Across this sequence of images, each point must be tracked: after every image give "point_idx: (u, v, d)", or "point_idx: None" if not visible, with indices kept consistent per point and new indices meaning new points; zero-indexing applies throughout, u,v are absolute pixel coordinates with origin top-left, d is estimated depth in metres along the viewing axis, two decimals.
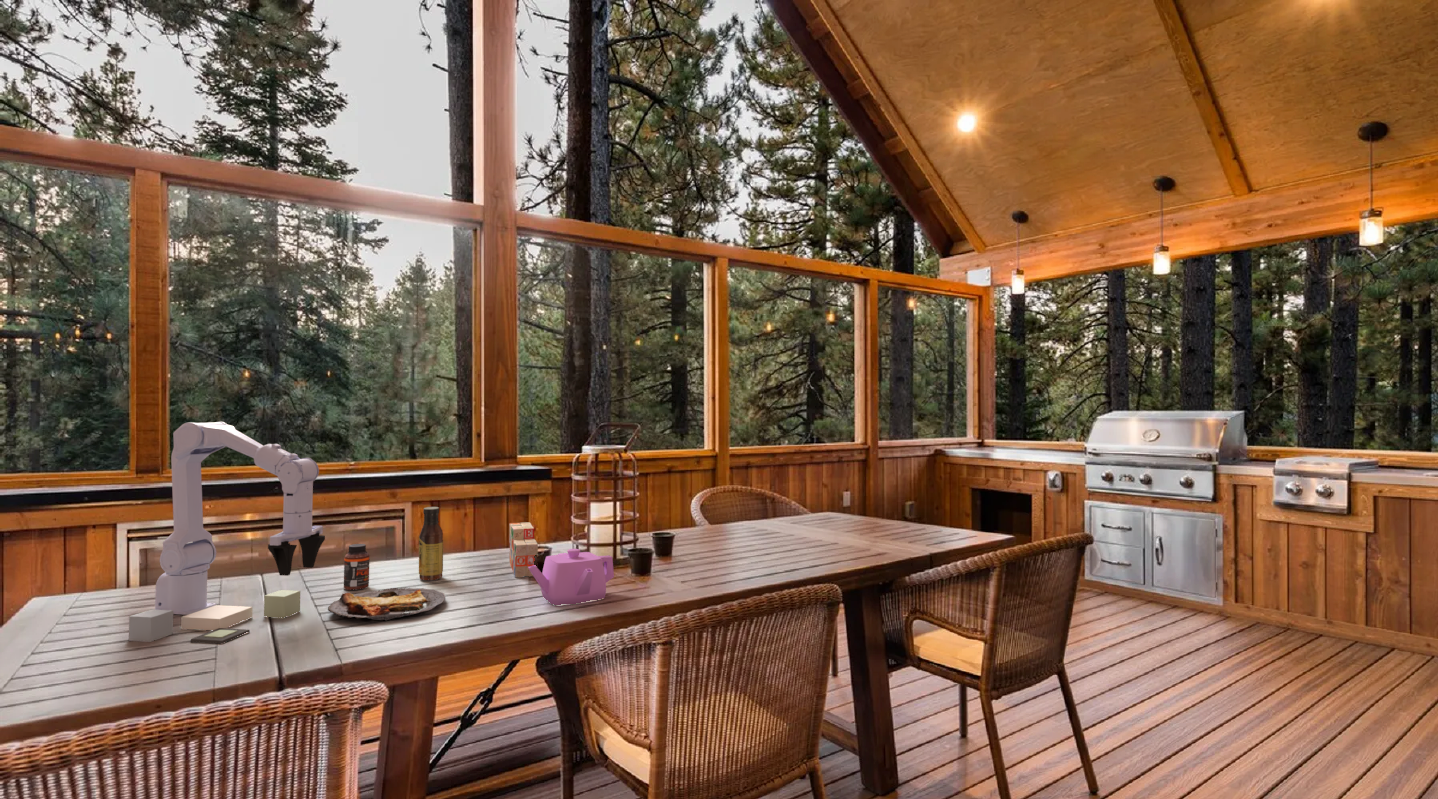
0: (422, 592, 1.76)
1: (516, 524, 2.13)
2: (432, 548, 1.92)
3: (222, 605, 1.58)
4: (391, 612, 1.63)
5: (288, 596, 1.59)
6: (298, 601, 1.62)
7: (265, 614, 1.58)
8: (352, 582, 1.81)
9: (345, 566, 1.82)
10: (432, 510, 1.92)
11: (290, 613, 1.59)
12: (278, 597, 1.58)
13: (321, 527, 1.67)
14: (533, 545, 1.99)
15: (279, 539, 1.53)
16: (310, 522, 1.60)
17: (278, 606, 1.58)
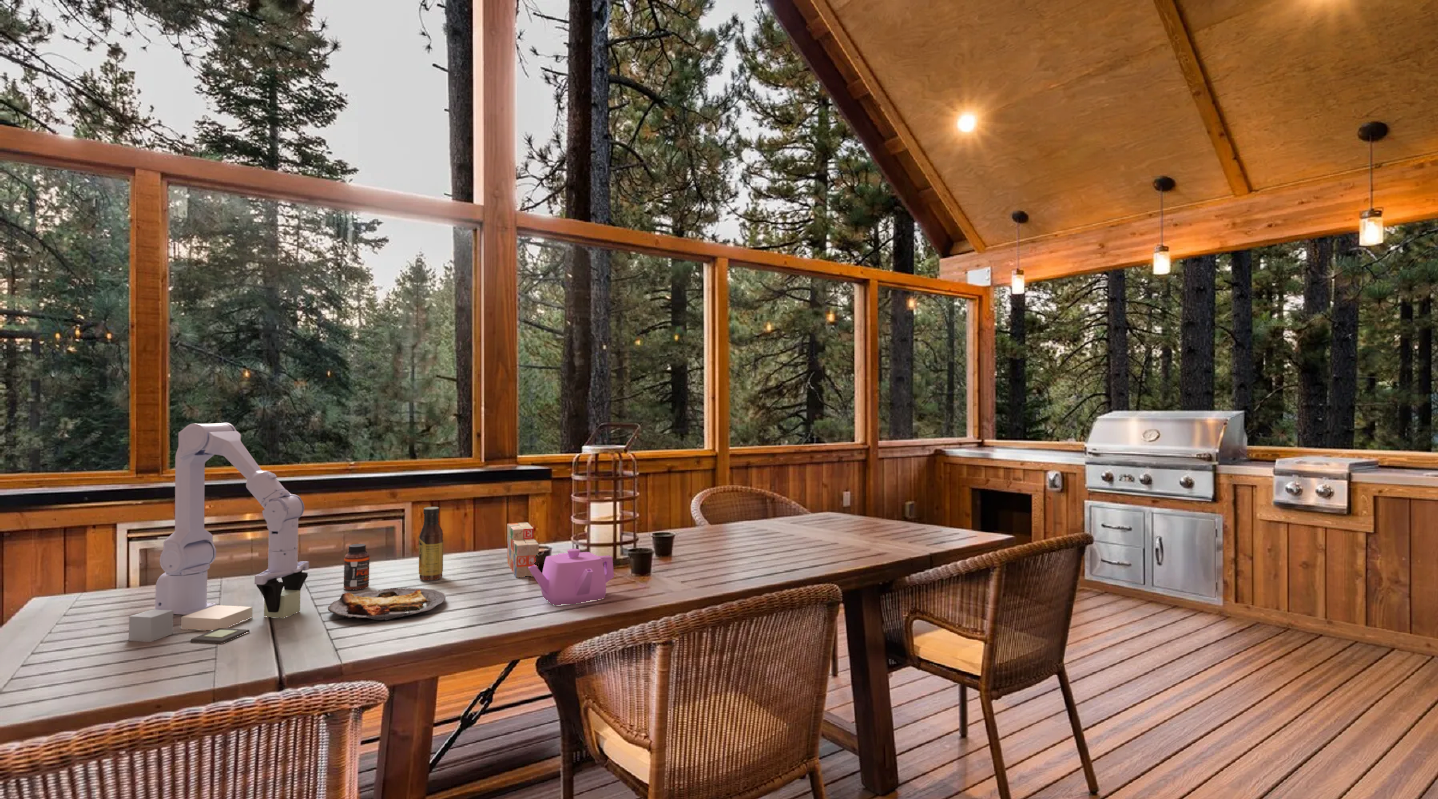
0: (422, 592, 1.76)
1: (514, 524, 2.13)
2: (432, 548, 1.92)
3: (222, 605, 1.58)
4: (391, 612, 1.63)
5: (288, 596, 1.59)
6: (298, 600, 1.62)
7: (265, 614, 1.58)
8: (352, 582, 1.81)
9: (345, 566, 1.82)
10: (432, 510, 1.92)
11: (290, 612, 1.60)
12: None
13: (307, 563, 1.67)
14: (534, 545, 1.99)
15: (264, 578, 1.54)
16: (295, 559, 1.61)
17: None
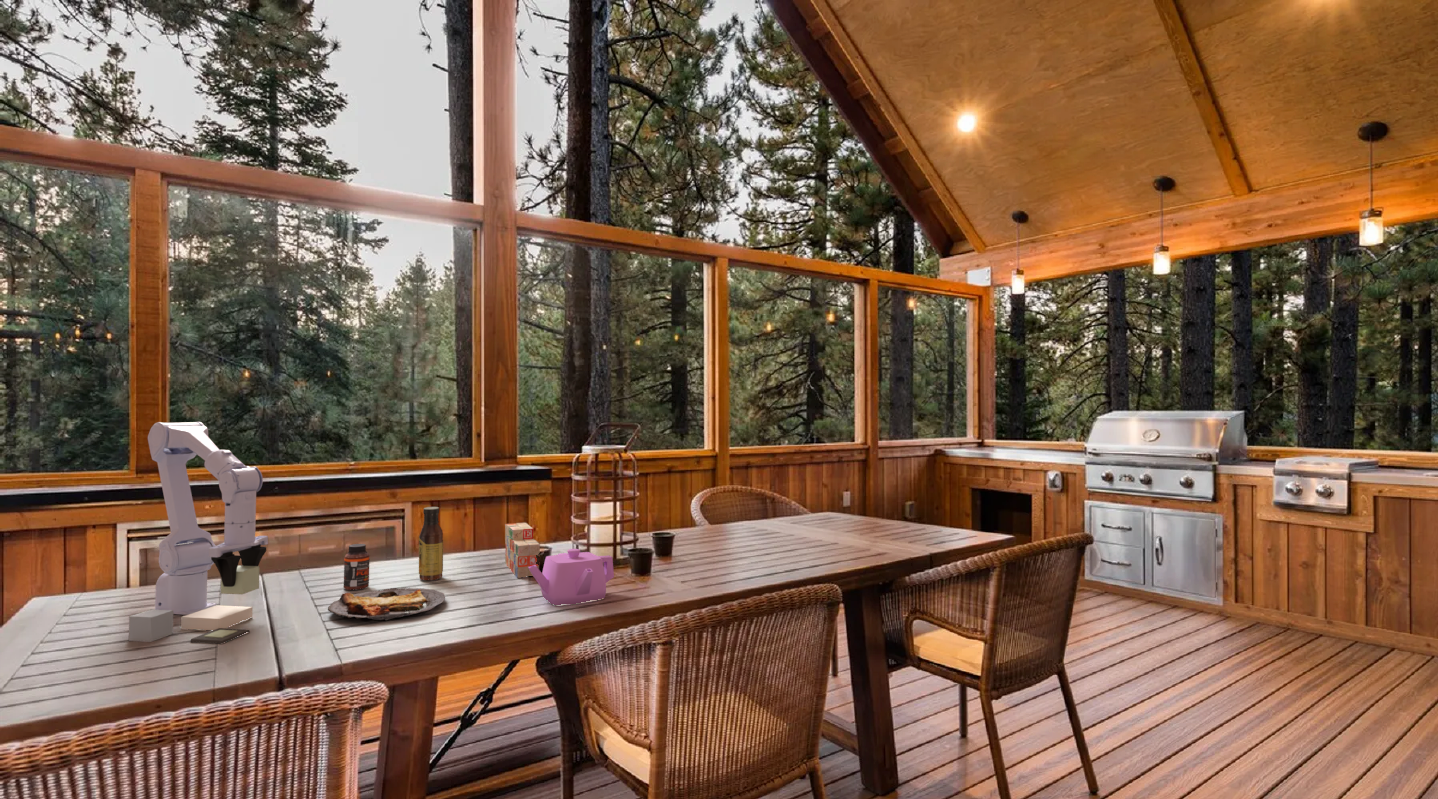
0: (422, 592, 1.76)
1: (513, 525, 2.12)
2: (432, 548, 1.92)
3: (221, 605, 1.58)
4: (391, 612, 1.63)
5: (246, 571, 1.54)
6: (257, 577, 1.58)
7: (222, 590, 1.53)
8: (352, 582, 1.81)
9: (345, 566, 1.82)
10: (432, 510, 1.92)
11: (248, 589, 1.55)
12: (236, 572, 1.53)
13: (266, 537, 1.62)
14: (535, 545, 1.98)
15: (218, 551, 1.49)
16: (253, 533, 1.56)
17: (235, 582, 1.53)
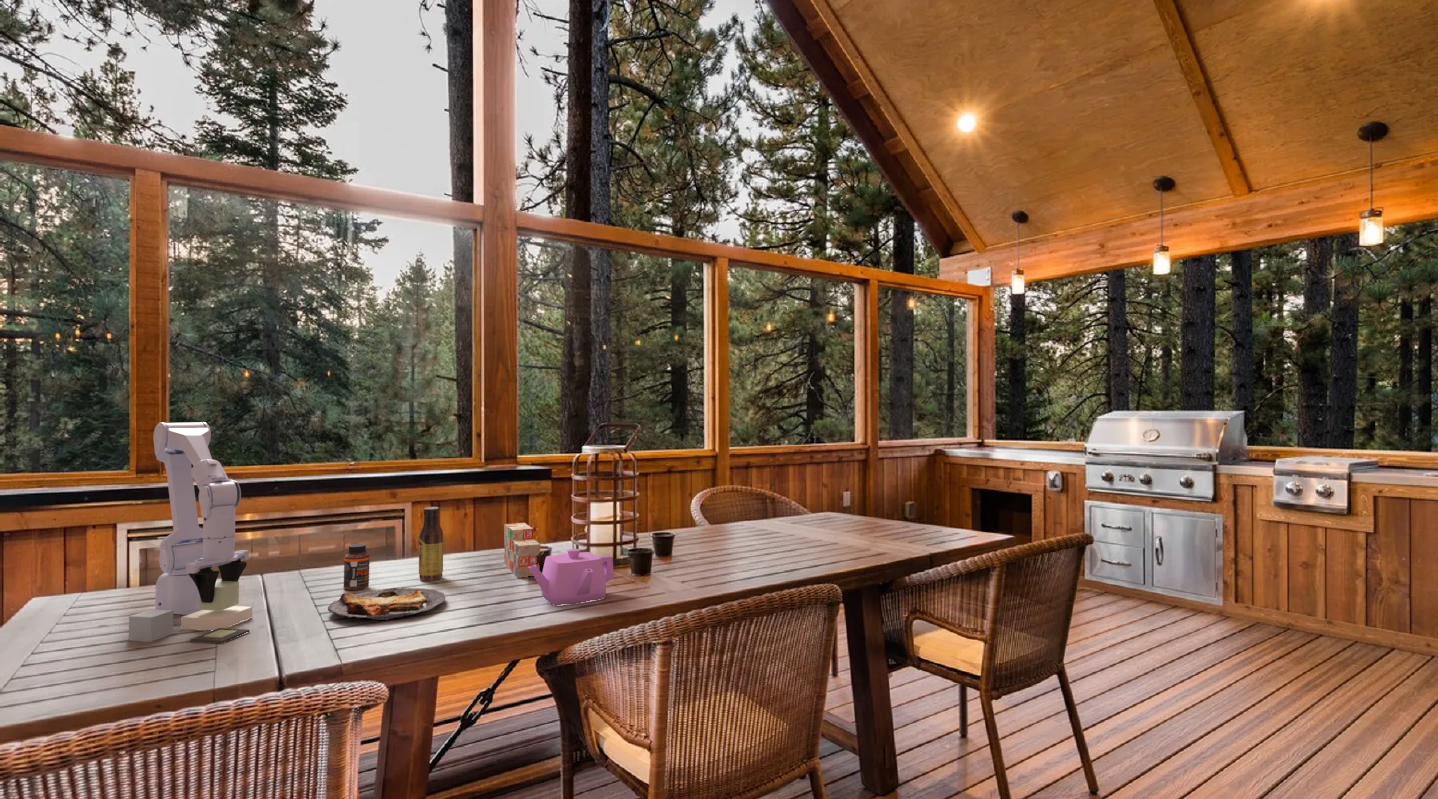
0: (422, 592, 1.76)
1: (512, 525, 2.12)
2: (432, 548, 1.92)
3: None
4: (391, 612, 1.63)
5: (225, 587, 1.52)
6: (236, 592, 1.55)
7: (200, 606, 1.51)
8: (352, 582, 1.81)
9: (345, 566, 1.82)
10: (432, 510, 1.92)
11: (227, 605, 1.53)
12: None
13: (246, 552, 1.60)
14: (536, 545, 1.98)
15: (196, 567, 1.47)
16: (232, 548, 1.54)
17: (214, 598, 1.51)
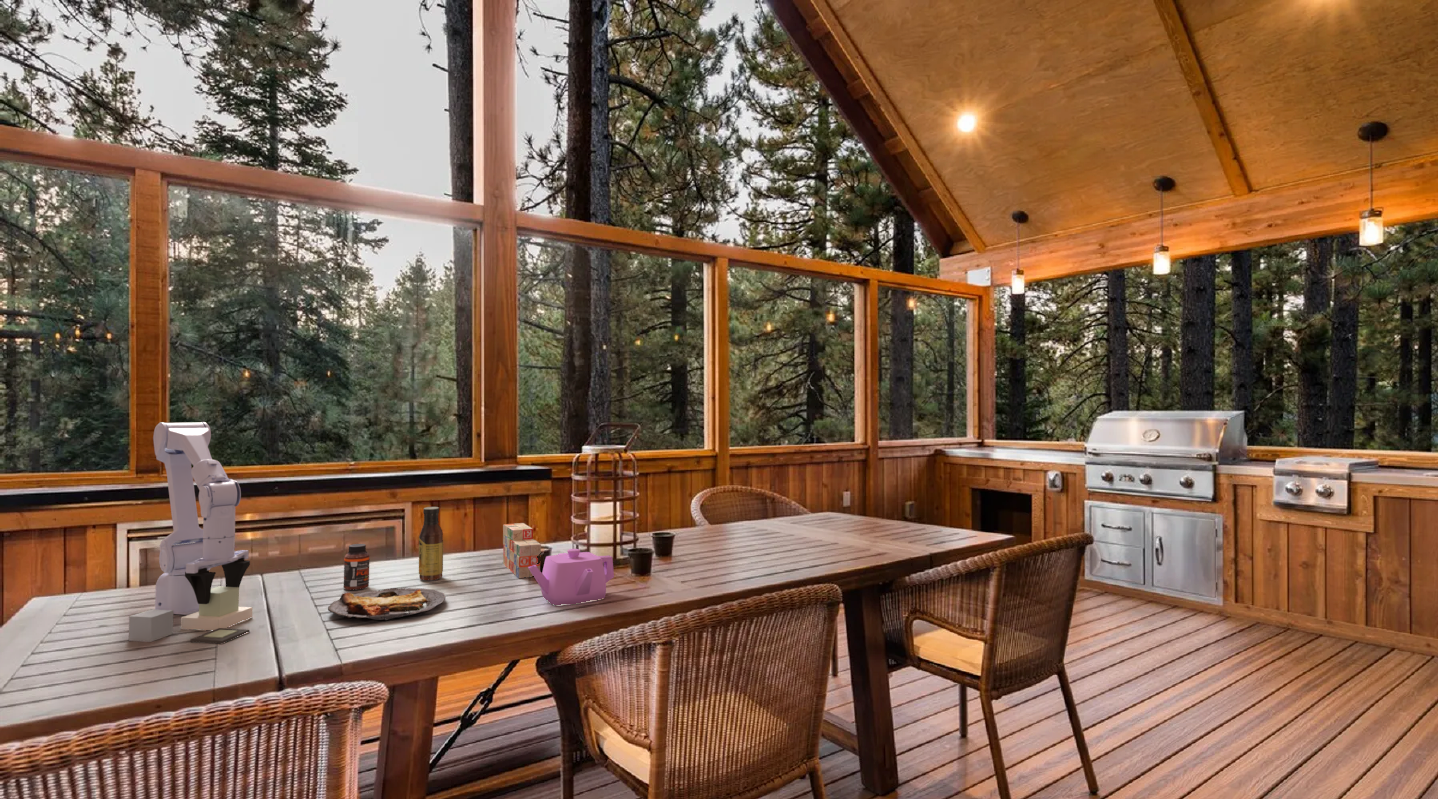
0: (422, 592, 1.76)
1: (511, 525, 2.12)
2: (432, 548, 1.92)
3: None
4: (391, 612, 1.63)
5: (224, 593, 1.52)
6: (236, 598, 1.55)
7: (200, 611, 1.51)
8: (352, 582, 1.81)
9: (345, 566, 1.82)
10: (432, 510, 1.92)
11: (226, 611, 1.52)
12: (213, 594, 1.51)
13: (246, 552, 1.60)
14: (536, 545, 1.98)
15: (196, 567, 1.47)
16: (232, 547, 1.54)
17: (213, 603, 1.51)
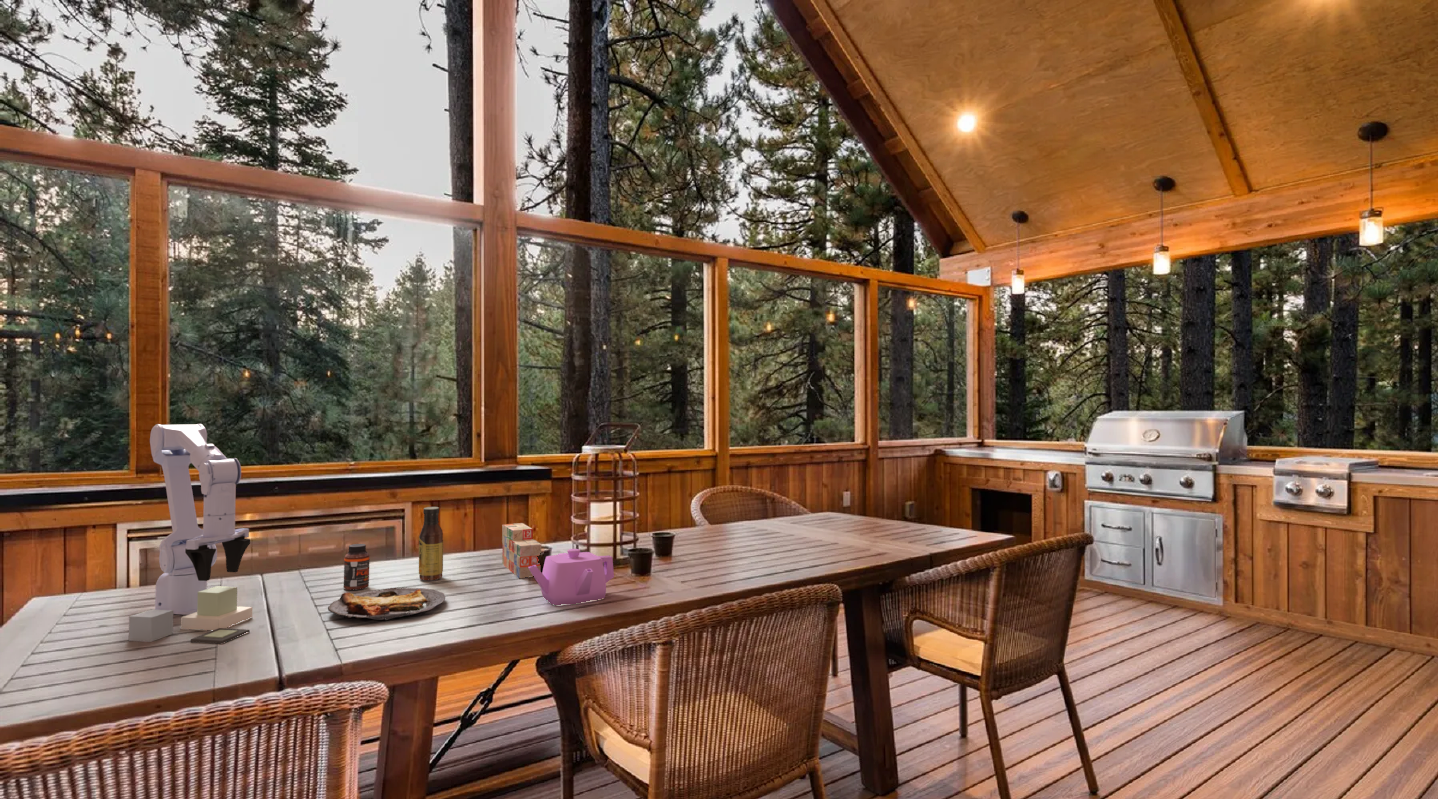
0: (422, 592, 1.76)
1: (511, 525, 2.11)
2: (432, 548, 1.92)
3: None
4: (391, 612, 1.63)
5: (222, 592, 1.52)
6: (235, 598, 1.55)
7: (198, 611, 1.51)
8: (352, 582, 1.81)
9: (345, 566, 1.82)
10: (432, 510, 1.92)
11: (225, 610, 1.52)
12: (212, 593, 1.51)
13: (247, 530, 1.60)
14: (537, 545, 1.98)
15: (196, 543, 1.47)
16: (232, 525, 1.54)
17: (211, 603, 1.51)
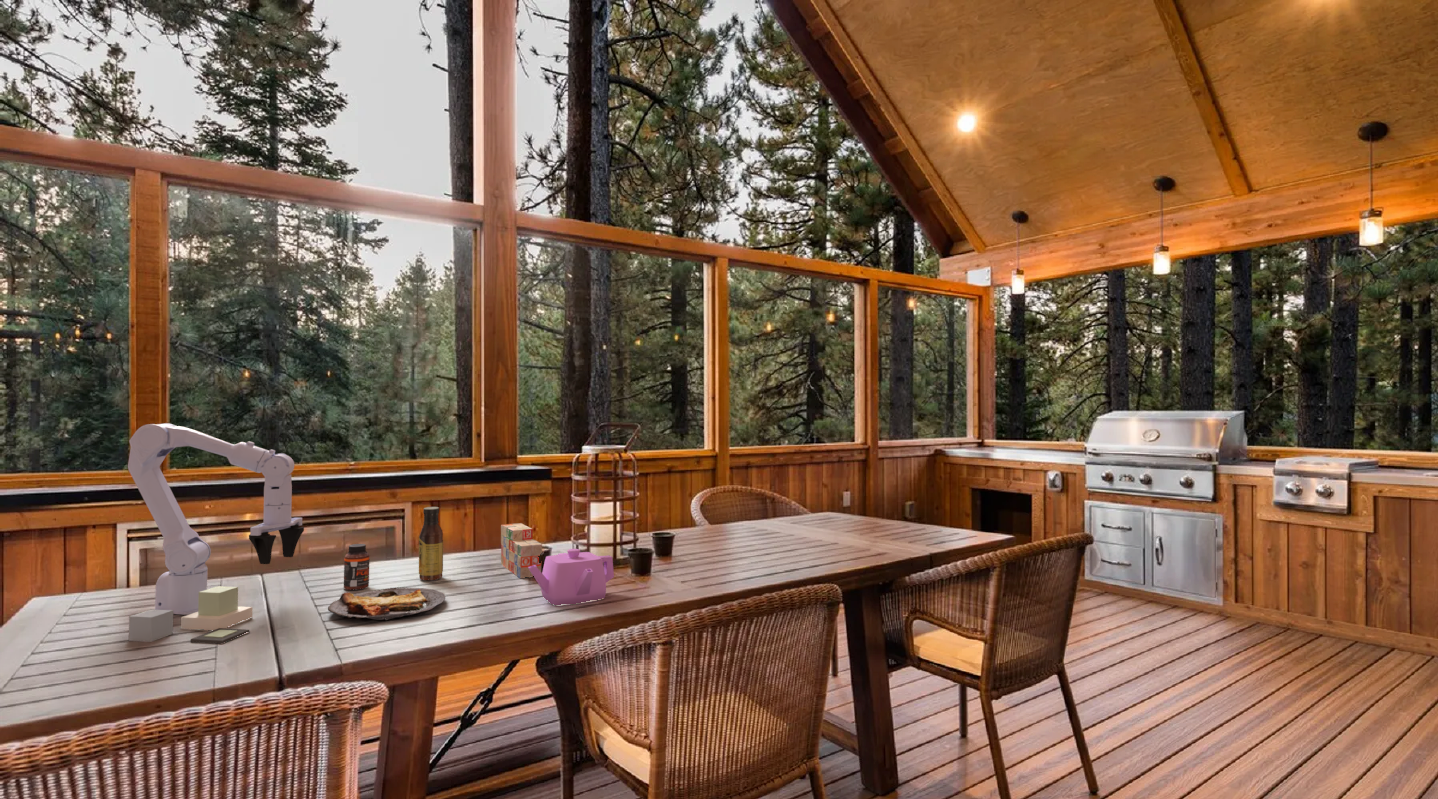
0: (422, 592, 1.76)
1: (510, 525, 2.11)
2: (432, 548, 1.92)
3: None
4: (391, 612, 1.63)
5: (224, 592, 1.52)
6: (235, 598, 1.55)
7: (199, 611, 1.51)
8: (352, 582, 1.81)
9: (345, 566, 1.82)
10: (432, 510, 1.92)
11: (226, 610, 1.53)
12: (213, 593, 1.51)
13: (300, 519, 1.76)
14: (537, 545, 1.98)
15: (259, 530, 1.63)
16: (289, 514, 1.70)
17: (212, 603, 1.51)
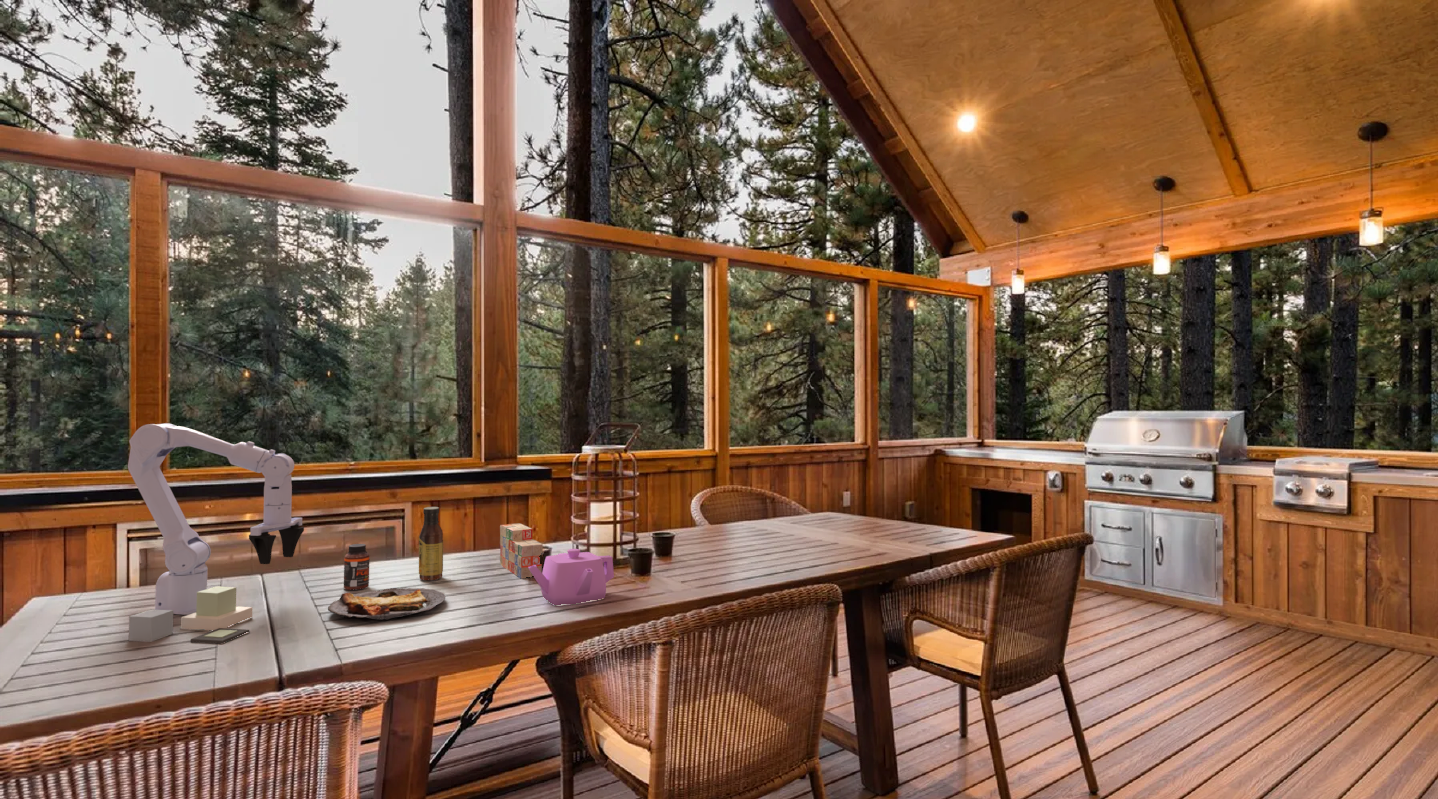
0: (422, 592, 1.76)
1: (509, 525, 2.11)
2: (432, 548, 1.92)
3: None
4: (391, 612, 1.63)
5: (222, 593, 1.52)
6: (234, 598, 1.55)
7: (197, 611, 1.51)
8: (352, 582, 1.81)
9: (345, 566, 1.82)
10: (432, 510, 1.92)
11: (224, 610, 1.52)
12: (211, 594, 1.51)
13: (300, 519, 1.76)
14: (538, 545, 1.98)
15: (259, 530, 1.63)
16: (289, 514, 1.70)
17: (211, 603, 1.51)
